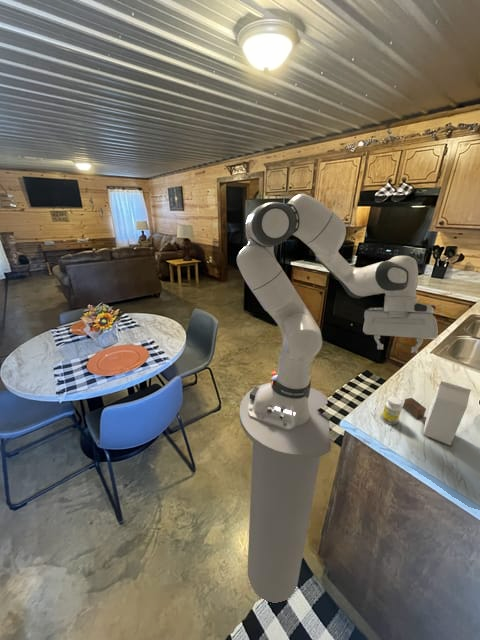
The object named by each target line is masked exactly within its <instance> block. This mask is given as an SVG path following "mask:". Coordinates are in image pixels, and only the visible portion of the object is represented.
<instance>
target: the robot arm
mask: <svg viewBox="0 0 480 640" xmlns="http://www.w3.org/2000/svg"><path fill="white" fill-rule="evenodd" d="M244 236H245V238H244V239H245V246H243V248H242V249H241V250H240V251H238V254H237V256H236V264H237V267H238V269H239V272H240V274H241V276H242V278H243V280H244V281H245V283H246V285H247V286H248V288H249V289H250V291H251V293H253V295H254V296H255V298H256V300H257V301H258V302H259V304H260V306H262V308H263V310H264V311H265V312H267V314H269V316H270V317H271V318H272V319H273V320H274V322H275V323H276V324H277V325H278V328H279V329H280V332H281V336H282V343H281V344H282V345H281V349H280V350H281V351H280V354H279V356H278V362H277V363H278V364H277V371H276V370H273V371H271V375H270V376H271V379H270V382H271V383H270V382H267V383H268V384H266V383H264V384H265V385H262V384H261V385H262V386H261V387H260V388H258V387H257V386H254V387H253V388H252V389H253V390H252V389H251V390H252V392H250V401H249V404H248V415H249V417H250V418H253V419H255V420H258V421H261V422H264V423H267V424H270V425H272V426H275V427H278V428H281V429H284V430H287V431H290V430H292V429H293V428H295V427H296V426H300V425H303V424H305V423H306V422H307V421H308V420H309V418H310V412H309V406H308V397H309V395H310V389H311V388H312V385H311V376H312V367H313V363H314V360H315V358H316V356H317V354H318V353H319V352H320V351H321V350H322V347H323V336H322V332H321V329H320V327H319V325H318V324H317V323H318V322H316V320H315V318H314V316H313V315H312V313H311V312H310V310H309V309H308V307H307V306H306V304H305V303H304V301H303V299H302V298H301V296H300V295H299V293H298V292H297V290H296V288H295V286H294V285H293V283H292V282H291V280H290V279H289V277H288V276H287V274H286V272H285V271H284V269H283V268H282V266H281V265H280V263H279V262H278V260H277V258H276V256H275V246H279V245H281V244H282V243H284V242H286V241H287V240H288V239H289V238H290V237H291V236H294V237H295V238H298V239H299V240H300V241H301V242H303V244H305V245H306V246H307V247H308V248H309V249H311V251H312V252H313V254H314V256H315V258H316V260H317V261H318V262H319V263H320V264H321V265H322V266H323V267H324V268H325V269H326V270H327V271H328V272H329V273H330V274H331V275H332V276H333V277H334V278H335V279H336V280H337V281H338V282H339V284H340V285H341V287H342V288H343V290H344V291H345V292H346V293H347V295H348V296H349V297H351V298H353V299H361V298H365V297H366V298H367V297H369V296H375V295H382V294H384V302H383V307H369V308H367V309H366V310H364V313H363V318H364V322H363V327H362V332H363V333H364V334H365V335H369V336H373V339H374V341H375V343H376V344H377V345H376V349H377V350H384V343H381V341H380V339H381V336H382V337H397V338H410V339H411V338H412V339H416V345H415V346H411V351H410V353H412V354H418V353H419V348H420V346H421V345H422V344H423V343H424V339H425V340H427V339H428V340H435V339H437V338H438V337H439V328H438V321H437V319H436V317H435V315H434V312H435V309H434V307H433V306H432V305H430V304H426V303H422V302H419V301H418V297H417V296H418V295H417V289H418V285H419V267H418V262H417V260H416V259H415V258H414V257H412V256H409V255H396V256H393V257H391V258H390V259H388V260H385V261H383V260H382V261H380V262H379V261H378V262H375V263H373V264H369V265H366V266H363V267H354V266H352V265H351V264H350V263H349V262H348V261H347V260H346V259H345V258H344V257H343V256H342V255H341V254H340V252H339V250H340V249H341V247H342V246H343V243H344V242H345V239H346V237H347V227H346V223H345V222H344V220H343V219H342V218H341V217H340V216H339V215H337V213H336V212H334V211H333V210H332V209H331V208H329V207H328V206H327V205H325V204H324V203H322V202H321V201H320V200H319V199H316V198H314V197H313V196H311V195H309V194H307V193H298V194H296V195H294V196H292V197H291V198H290V199H289V200H288V202H285V203H284V202H280V201H269V202H266V203H263V204H260V205H257V206H256V207H255V208H253V210H251V212H250V213H249V214H248V215H247V217H246V219H245V221H244Z"/></svg>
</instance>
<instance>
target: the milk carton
mask: <svg viewBox="0 0 480 640" xmlns="http://www.w3.org/2000/svg"><path fill="white" fill-rule="evenodd" d="M471 391H472V389H470V388H467V387H464V386H460V385H458V384H453V383H451V382H447V381H443V380H441V381H440V383H439V384H438V386H437V387H436V391H435V392H434V396H433V398H432V402H431V404H430V407H429V410H428V412H427V415H426V418H425V421H424V427H423V435H424V436H426V437H428V438H431V439H433V440H436V441H438V442H441V443H443V444H445V445H448V446H451V445H452V443H453V440H454V438H455V436H456V433H457V431H458V428H459V427H460V424H461V422H462V419H463V417H464V415H465V412H466V410H467V408H468V403H469V398H470V394H471Z"/></svg>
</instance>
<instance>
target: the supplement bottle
mask: <svg viewBox="0 0 480 640" xmlns="http://www.w3.org/2000/svg"><path fill="white" fill-rule="evenodd" d="M402 405H403V402H402V400H401V399H400V398H399V397H397V396H389V397H388V399H387V401H386V402H385V405H384V409H383V412H382V416H381V417H382V420H383V421H384V422H385V423H387V424H389V425H396V424H398V422H399V418H400V416H401V415H400V414H401V411H402Z"/></svg>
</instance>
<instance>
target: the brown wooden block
mask: <svg viewBox="0 0 480 640" xmlns="http://www.w3.org/2000/svg"><path fill="white" fill-rule="evenodd" d="M402 405H403V406H402V409H404V410H405V411H406V412H407V413H409V415H411V416H412V418H414V419H415V420H418V419H423V418H424V416H425V413H426V410H427V408H426V407H425V406H424V405H422V404H421V403H419V402H418V401H417V400H416V399H414V398H413V397H409V398H405V399H404V402H403V404H402Z"/></svg>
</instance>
